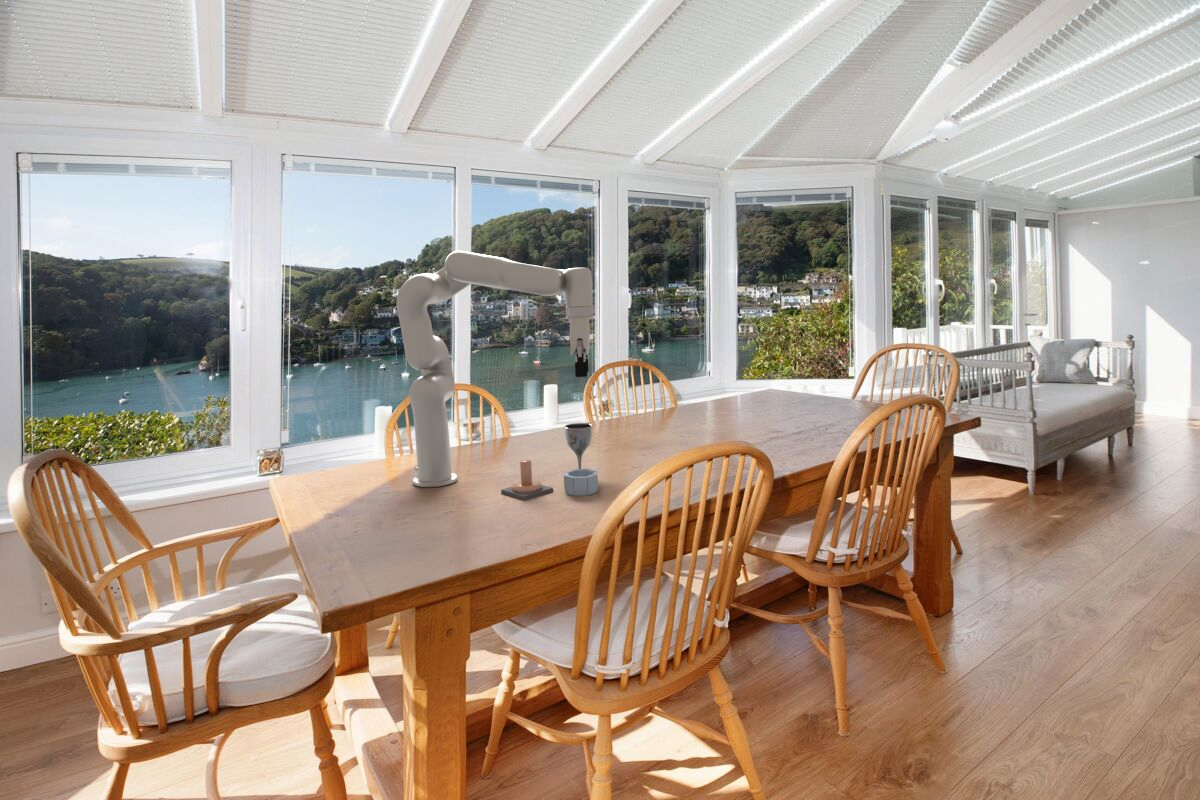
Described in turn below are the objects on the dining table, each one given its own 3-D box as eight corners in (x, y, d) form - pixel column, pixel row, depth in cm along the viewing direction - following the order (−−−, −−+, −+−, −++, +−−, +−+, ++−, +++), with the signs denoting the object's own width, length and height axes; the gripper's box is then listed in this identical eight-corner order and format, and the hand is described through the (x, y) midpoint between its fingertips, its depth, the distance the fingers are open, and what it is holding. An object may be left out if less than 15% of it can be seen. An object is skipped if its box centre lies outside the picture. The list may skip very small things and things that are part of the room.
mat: (501, 493, 186) (501, 489, 186) (529, 485, 193) (529, 481, 193) (524, 500, 179) (524, 496, 179) (553, 491, 186) (552, 487, 186)
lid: (506, 489, 186) (504, 462, 185) (528, 483, 192) (527, 456, 190) (524, 494, 180) (523, 466, 179) (547, 488, 186) (546, 460, 185)
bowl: (558, 491, 185) (557, 474, 185) (581, 484, 192) (581, 467, 191) (581, 498, 179) (580, 479, 178) (604, 490, 185) (604, 472, 185)
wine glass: (590, 479, 197) (588, 428, 195) (563, 478, 198) (561, 428, 196) (596, 472, 205) (594, 423, 202) (570, 471, 206) (568, 423, 204)
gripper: (568, 312, 197) (570, 371, 200) (563, 314, 180) (566, 379, 183) (594, 311, 197) (596, 370, 200) (592, 313, 180) (594, 378, 183)
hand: (582, 374), depth 191 cm, fingers open, 9 cm apart
